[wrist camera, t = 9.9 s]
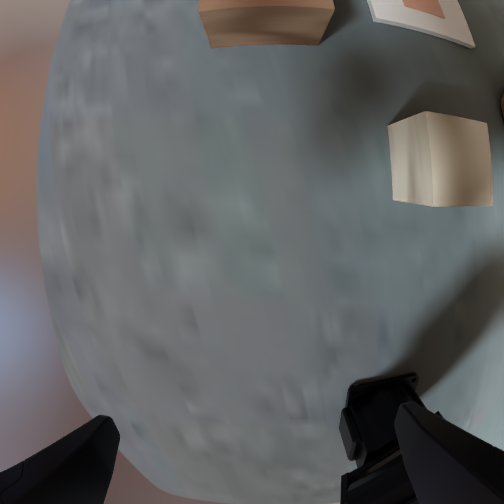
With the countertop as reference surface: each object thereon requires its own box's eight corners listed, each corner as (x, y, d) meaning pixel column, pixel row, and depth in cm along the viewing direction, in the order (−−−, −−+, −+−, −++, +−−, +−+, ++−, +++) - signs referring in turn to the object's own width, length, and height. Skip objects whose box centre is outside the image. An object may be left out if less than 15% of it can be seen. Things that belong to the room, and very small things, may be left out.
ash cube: (443, 131, 16) (486, 123, 11) (448, 199, 17) (492, 206, 12) (386, 126, 16) (425, 110, 11) (392, 199, 17) (433, 206, 13)
